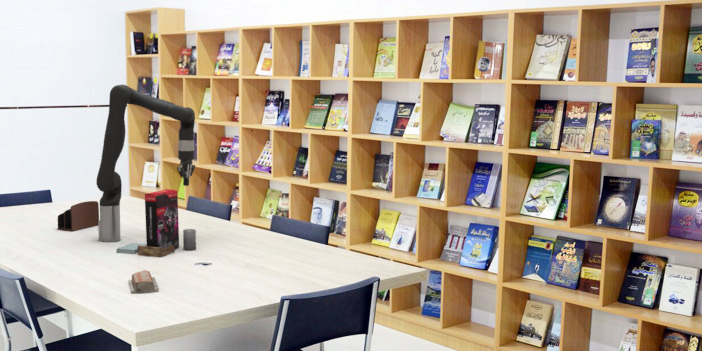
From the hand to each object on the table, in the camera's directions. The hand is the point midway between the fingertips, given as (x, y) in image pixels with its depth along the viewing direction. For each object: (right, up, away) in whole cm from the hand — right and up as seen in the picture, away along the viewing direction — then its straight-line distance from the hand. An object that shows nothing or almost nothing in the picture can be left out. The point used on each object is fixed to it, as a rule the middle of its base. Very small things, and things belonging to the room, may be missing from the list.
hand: (186, 185), depth 365 cm
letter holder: (-63, -23, +33) cm, 75 cm away
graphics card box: (-7, -30, -17) cm, 35 cm away
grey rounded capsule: (+4, -29, -13) cm, 33 cm away
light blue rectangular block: (-20, -30, -18) cm, 40 cm away
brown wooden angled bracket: (-8, -30, -23) cm, 39 cm away
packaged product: (+1, -38, -78) cm, 86 cm away
